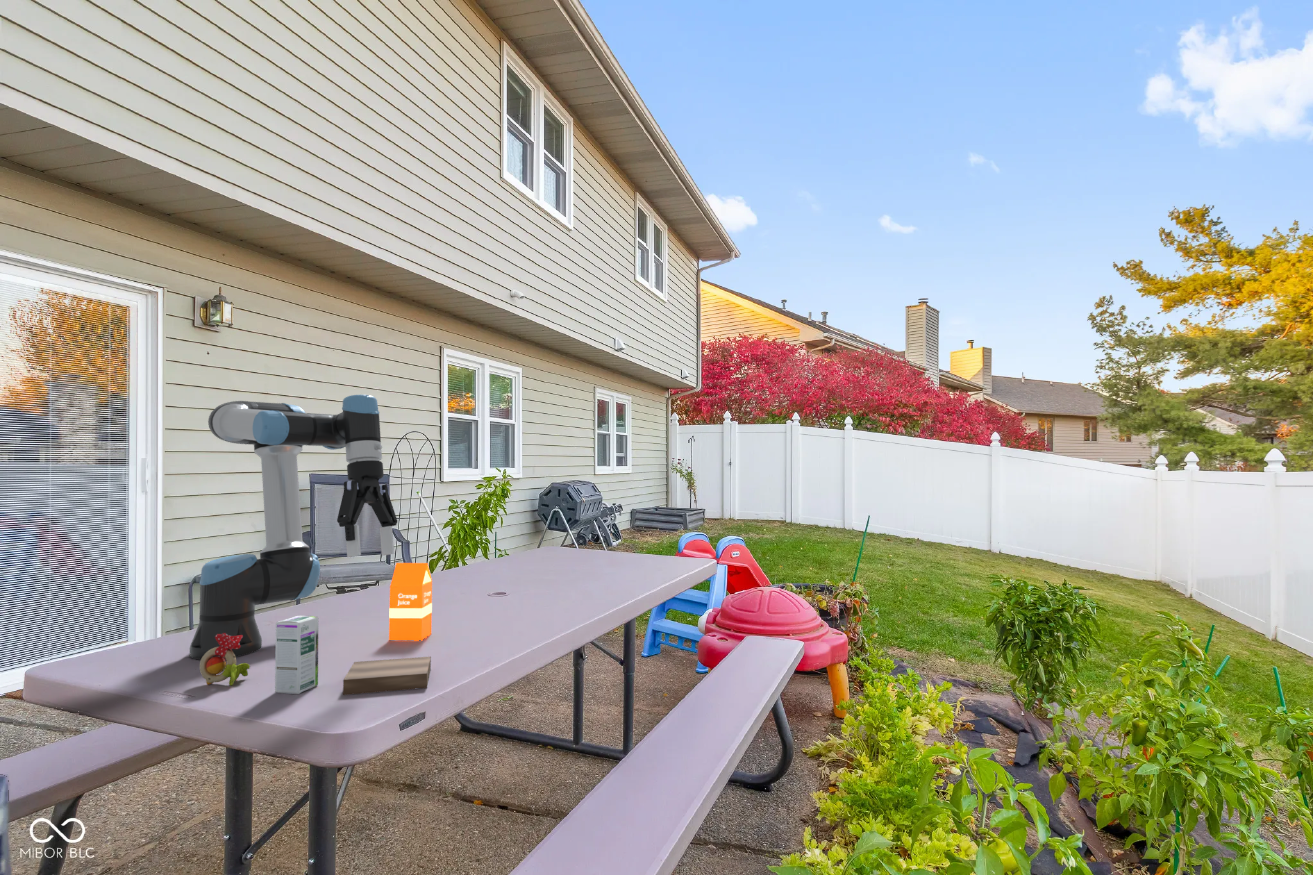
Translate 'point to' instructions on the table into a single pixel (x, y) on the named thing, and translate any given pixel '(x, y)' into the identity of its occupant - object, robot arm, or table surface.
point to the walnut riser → (387, 675)
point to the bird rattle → (223, 661)
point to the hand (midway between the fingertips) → (371, 555)
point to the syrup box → (296, 654)
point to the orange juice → (410, 602)
